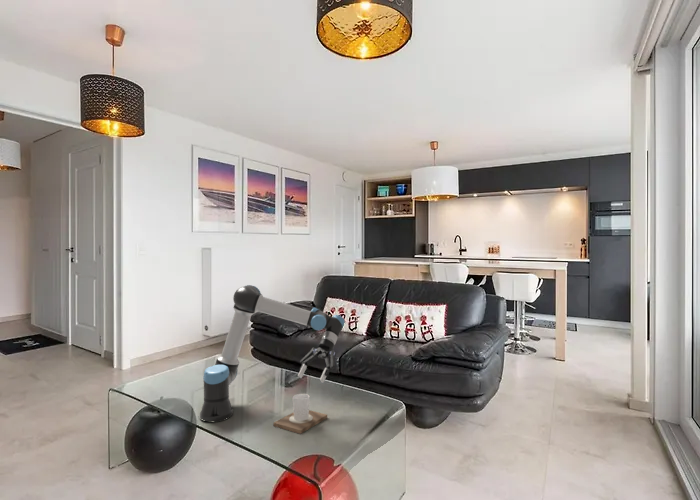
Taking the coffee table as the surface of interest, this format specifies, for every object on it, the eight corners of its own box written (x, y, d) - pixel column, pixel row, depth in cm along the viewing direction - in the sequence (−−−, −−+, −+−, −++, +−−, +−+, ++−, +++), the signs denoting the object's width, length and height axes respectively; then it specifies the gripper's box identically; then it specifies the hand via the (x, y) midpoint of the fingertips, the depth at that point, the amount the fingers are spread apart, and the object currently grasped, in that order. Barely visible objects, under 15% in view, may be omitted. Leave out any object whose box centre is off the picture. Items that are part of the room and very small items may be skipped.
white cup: (310, 414, 182) (310, 393, 183) (309, 421, 175) (308, 399, 175) (293, 415, 182) (293, 393, 183) (291, 421, 174) (291, 399, 175)
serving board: (300, 433, 166) (300, 430, 166) (273, 425, 174) (273, 422, 174) (327, 417, 183) (327, 414, 183) (301, 411, 191) (301, 407, 191)
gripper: (350, 349, 194) (334, 387, 181) (312, 343, 207) (294, 378, 194) (345, 340, 190) (327, 379, 177) (306, 335, 203) (287, 371, 190)
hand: (310, 379), depth 186 cm, fingers open, 13 cm apart
